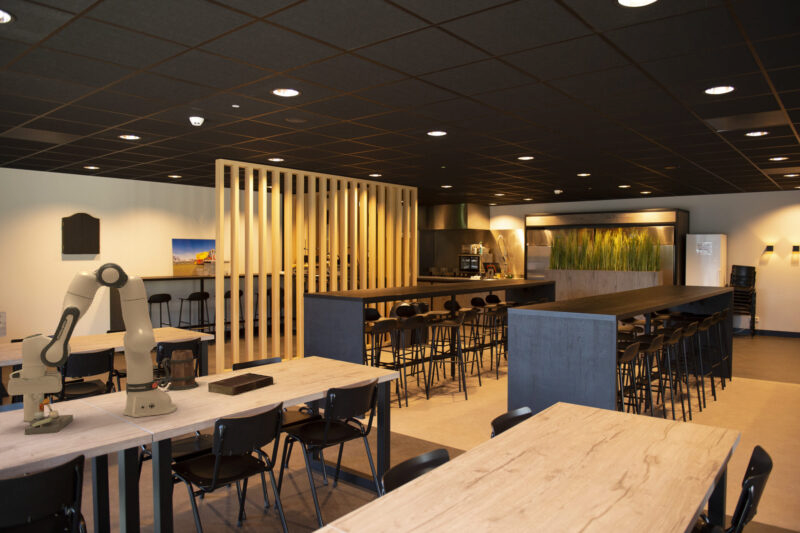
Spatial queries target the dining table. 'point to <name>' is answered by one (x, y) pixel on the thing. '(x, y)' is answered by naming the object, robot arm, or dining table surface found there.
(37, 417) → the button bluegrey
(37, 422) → the rocker sage
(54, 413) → the button cream
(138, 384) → the robot arm
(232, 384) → the dark brown flat block
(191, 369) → the tankard
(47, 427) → the panel
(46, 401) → the toggle lever
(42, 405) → the milk bottle
